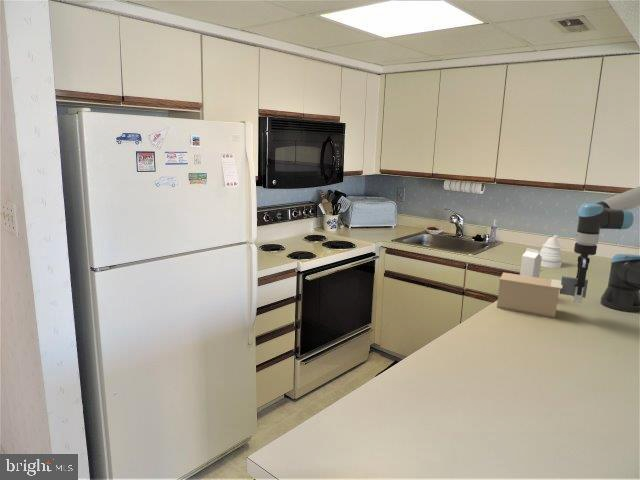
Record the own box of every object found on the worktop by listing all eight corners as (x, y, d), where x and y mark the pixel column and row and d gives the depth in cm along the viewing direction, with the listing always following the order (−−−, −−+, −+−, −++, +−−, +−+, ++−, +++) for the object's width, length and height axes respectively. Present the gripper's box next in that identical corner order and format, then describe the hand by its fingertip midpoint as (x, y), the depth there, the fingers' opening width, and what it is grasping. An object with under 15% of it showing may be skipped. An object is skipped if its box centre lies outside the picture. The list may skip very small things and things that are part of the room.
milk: (529, 298, 203) (536, 251, 198) (517, 295, 207) (522, 248, 203) (536, 296, 206) (543, 249, 202) (524, 292, 211) (530, 247, 206)
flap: (584, 293, 184) (587, 276, 182) (585, 301, 174) (588, 284, 172) (502, 280, 198) (504, 265, 197) (498, 287, 188) (500, 271, 187)
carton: (555, 309, 190) (559, 282, 187) (554, 318, 180) (559, 289, 178) (499, 300, 200) (503, 274, 197) (496, 307, 190) (499, 280, 188)
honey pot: (565, 266, 263) (569, 236, 259) (553, 269, 255) (557, 238, 252) (544, 261, 273) (548, 232, 269) (532, 263, 266) (536, 234, 262)
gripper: (574, 238, 185) (566, 292, 190) (575, 246, 169) (566, 305, 174) (595, 240, 182) (587, 295, 186) (598, 249, 166) (589, 308, 171)
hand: (577, 300), depth 180 cm, fingers open, 5 cm apart
